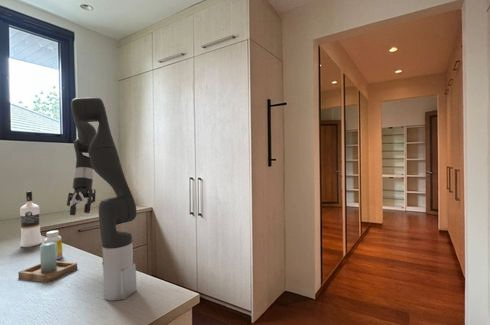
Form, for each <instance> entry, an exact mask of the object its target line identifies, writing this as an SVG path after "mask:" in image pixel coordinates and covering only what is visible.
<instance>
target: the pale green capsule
mask: <svg viewBox="0 0 490 325" xmlns="http://www.w3.org/2000/svg"><path fill="white" fill-rule="evenodd" d="M39 251H40V252H39V253H40V254H39V255H40V257H39V258H40V259H39V260H40V263H41V273H42V274H46V273H51V272H54V271H56V270H57V261H58V259H57V260H56V243H55V242H50V243H45V244H44V243H41V244H39Z"/></svg>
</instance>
